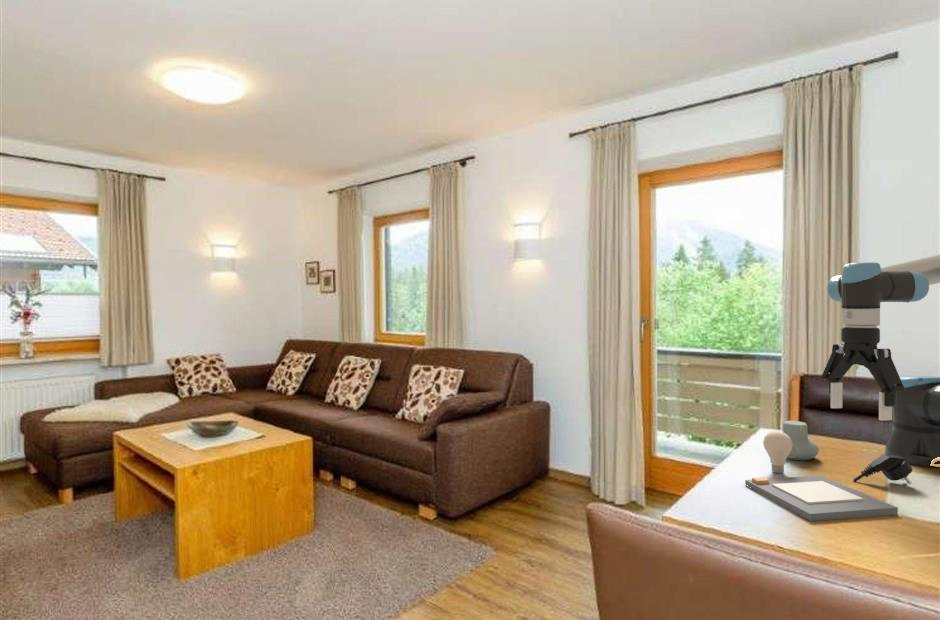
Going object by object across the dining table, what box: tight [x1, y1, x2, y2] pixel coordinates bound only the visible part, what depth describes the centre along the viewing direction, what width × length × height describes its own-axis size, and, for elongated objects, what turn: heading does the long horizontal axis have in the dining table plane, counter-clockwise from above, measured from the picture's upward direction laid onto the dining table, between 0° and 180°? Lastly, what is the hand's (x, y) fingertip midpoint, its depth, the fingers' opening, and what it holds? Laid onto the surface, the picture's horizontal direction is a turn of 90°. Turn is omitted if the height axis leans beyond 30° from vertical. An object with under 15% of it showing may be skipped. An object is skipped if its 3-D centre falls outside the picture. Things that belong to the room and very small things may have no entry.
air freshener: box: [782, 420, 820, 461], centre depth 146 cm, size 11×8×10 cm
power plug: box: [852, 453, 913, 485], centre depth 125 cm, size 6×8×12 cm
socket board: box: [744, 474, 899, 522], centre depth 116 cm, size 20×20×2 cm
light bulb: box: [762, 430, 792, 474], centre depth 133 cm, size 7×7×11 cm
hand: (859, 413), depth 126 cm, fingers open, 13 cm apart
